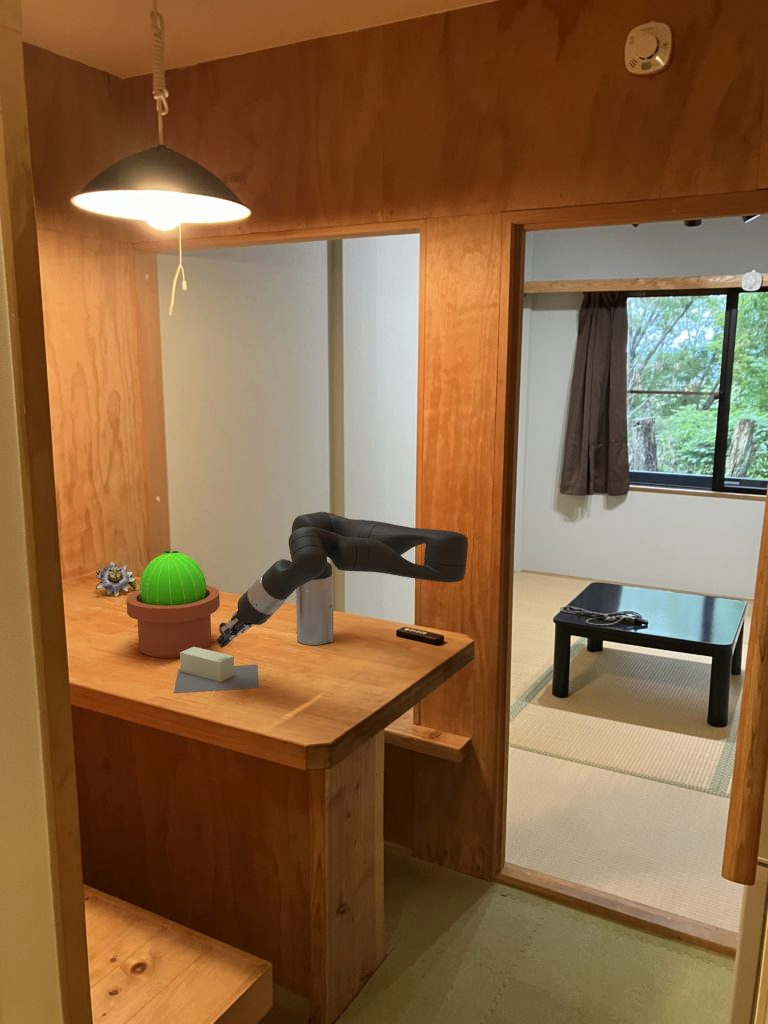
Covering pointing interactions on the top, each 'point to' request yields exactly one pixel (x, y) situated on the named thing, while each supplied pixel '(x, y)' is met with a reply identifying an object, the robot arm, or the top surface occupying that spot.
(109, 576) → the passion flower
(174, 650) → the potted cactus
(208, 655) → the sage block
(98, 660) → the top surface
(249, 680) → the rubber mat
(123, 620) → the top surface
